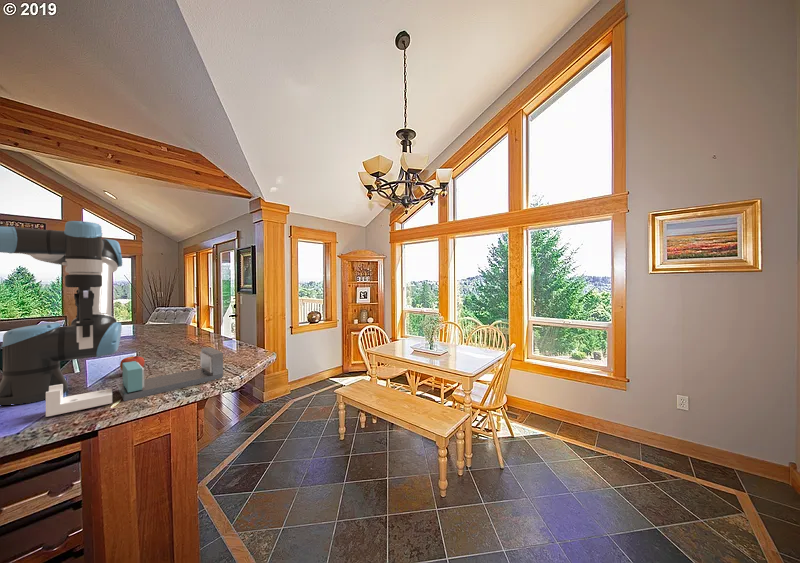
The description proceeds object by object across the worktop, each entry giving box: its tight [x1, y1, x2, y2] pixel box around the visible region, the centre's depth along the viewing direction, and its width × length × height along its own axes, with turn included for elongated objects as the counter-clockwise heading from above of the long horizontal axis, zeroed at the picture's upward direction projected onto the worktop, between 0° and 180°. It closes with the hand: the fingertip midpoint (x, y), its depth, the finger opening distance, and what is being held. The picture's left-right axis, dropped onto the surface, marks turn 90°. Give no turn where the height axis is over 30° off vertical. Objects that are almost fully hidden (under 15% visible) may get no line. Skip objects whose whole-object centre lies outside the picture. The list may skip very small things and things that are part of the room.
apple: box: [119, 353, 145, 372], centre depth 119 cm, size 7×7×8 cm
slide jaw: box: [122, 361, 145, 393], centre depth 99 cm, size 13×4×7 cm, turn 49°
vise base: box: [117, 367, 224, 402], centre depth 107 cm, size 14×28×2 cm, turn 139°
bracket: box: [45, 384, 113, 417], centre depth 87 cm, size 13×7×8 cm, turn 135°
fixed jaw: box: [199, 346, 224, 376], centre depth 116 cm, size 14×4×8 cm, turn 49°
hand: (84, 345), depth 88 cm, fingers open, 13 cm apart
